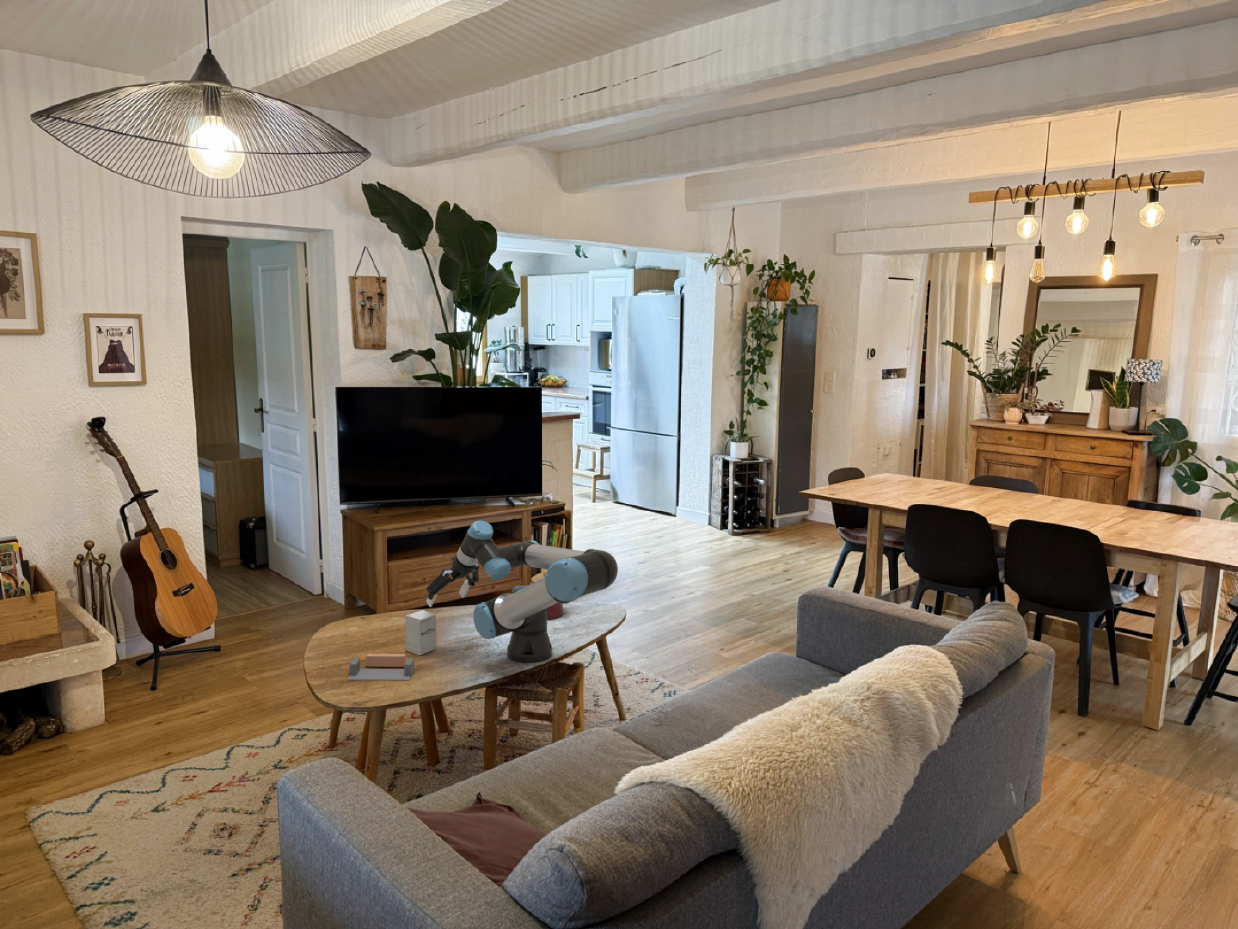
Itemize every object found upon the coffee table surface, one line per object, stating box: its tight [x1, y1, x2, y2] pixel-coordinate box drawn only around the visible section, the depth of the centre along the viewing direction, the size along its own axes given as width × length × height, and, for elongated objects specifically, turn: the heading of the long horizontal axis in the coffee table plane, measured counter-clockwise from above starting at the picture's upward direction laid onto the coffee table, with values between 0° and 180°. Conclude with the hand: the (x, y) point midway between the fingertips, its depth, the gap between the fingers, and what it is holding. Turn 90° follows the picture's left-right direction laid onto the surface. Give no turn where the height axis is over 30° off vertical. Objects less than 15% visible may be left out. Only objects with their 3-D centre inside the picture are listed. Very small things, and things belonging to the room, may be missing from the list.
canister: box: [528, 569, 564, 620], centre depth 320 cm, size 13×13×18 cm
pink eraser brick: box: [365, 653, 407, 668], centre depth 270 cm, size 2×12×4 cm, turn 92°
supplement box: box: [405, 609, 437, 656], centre depth 284 cm, size 7×7×13 cm
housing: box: [346, 657, 415, 681], centre depth 264 cm, size 8×19×4 cm, turn 92°
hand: (445, 599), depth 290 cm, fingers open, 13 cm apart
